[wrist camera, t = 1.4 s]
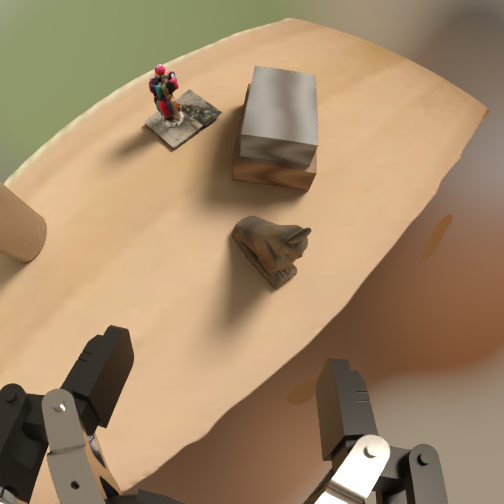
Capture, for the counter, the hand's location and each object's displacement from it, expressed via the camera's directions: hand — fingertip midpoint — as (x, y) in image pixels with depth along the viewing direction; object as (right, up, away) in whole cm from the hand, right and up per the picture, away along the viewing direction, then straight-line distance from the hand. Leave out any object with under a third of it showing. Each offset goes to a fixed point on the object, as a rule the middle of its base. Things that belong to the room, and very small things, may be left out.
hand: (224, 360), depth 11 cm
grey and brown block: (+5, +23, +36) cm, 43 cm away
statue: (-11, +28, +37) cm, 48 cm away
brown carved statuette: (+3, +4, +30) cm, 31 cm away
